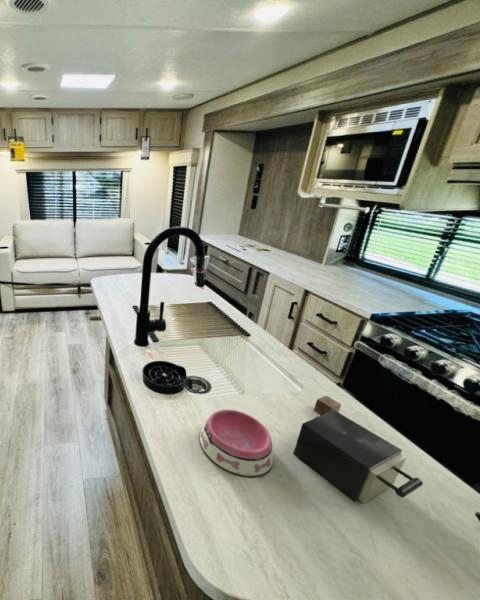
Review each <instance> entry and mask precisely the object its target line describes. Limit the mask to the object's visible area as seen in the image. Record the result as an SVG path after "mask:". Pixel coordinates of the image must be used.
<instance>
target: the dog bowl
mask: <svg viewBox="0 0 480 600" xmlns="http://www.w3.org/2000/svg"><path fill="white" fill-rule="evenodd" d="M198 441H199V446H200V448H201V450H202V452H203V454H204V455H205V456H206V457H207V459H209V460H210V461H211V462H212V463H213V464H215V465H216V466H217V467H218V468H220V469H221V470H223V471H225V472H228V473H230V474H233V475H235V476H239V477H244V478H258V477H259V478H260V477H262V476H265V475H267V474H268V473H269V472H270V471H271V470H272V468H273V466H274V455H273V454H274V453H273V442H272V441H273V440H272V436H271V434H270V432H269V430H268V429H267V427H266V426H265V425H264V424H263V423H261V422H260V421H259V420H258V419H256V418H255V417H254V416H251V415H250V414H248V413H245V412H243V411H240V410H235V409H220V410H217V411H215V412H213V413H211V415H210V416H209V417H208V418H207V420H206V421H205V424H204V425H203V427H202V429H201V431H200V433H199V437H198Z"/></svg>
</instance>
